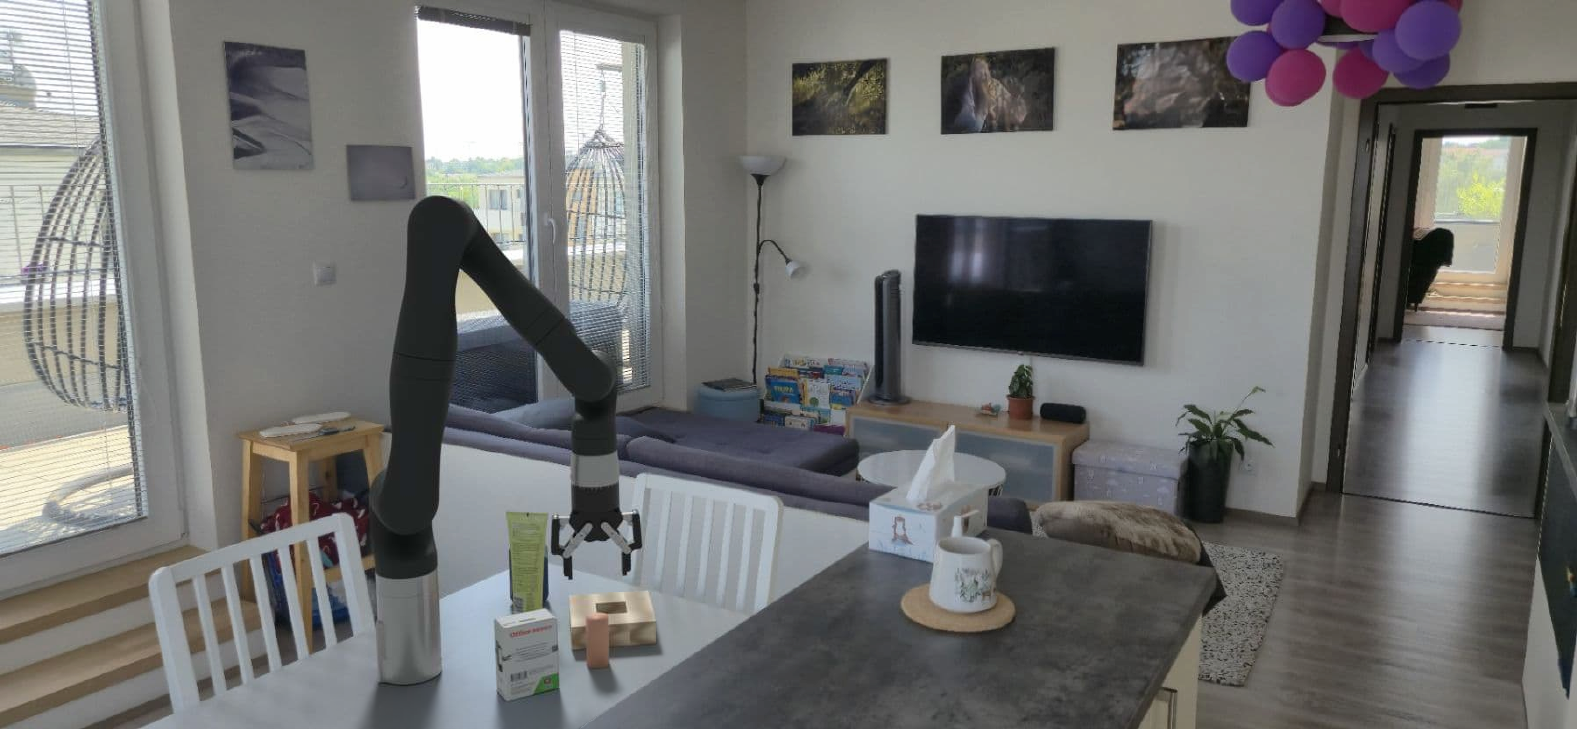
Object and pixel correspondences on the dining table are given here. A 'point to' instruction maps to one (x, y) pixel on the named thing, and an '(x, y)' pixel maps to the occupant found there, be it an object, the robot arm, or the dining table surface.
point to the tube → (527, 558)
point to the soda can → (545, 577)
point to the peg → (597, 640)
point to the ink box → (526, 654)
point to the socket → (614, 617)
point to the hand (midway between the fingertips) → (597, 576)
